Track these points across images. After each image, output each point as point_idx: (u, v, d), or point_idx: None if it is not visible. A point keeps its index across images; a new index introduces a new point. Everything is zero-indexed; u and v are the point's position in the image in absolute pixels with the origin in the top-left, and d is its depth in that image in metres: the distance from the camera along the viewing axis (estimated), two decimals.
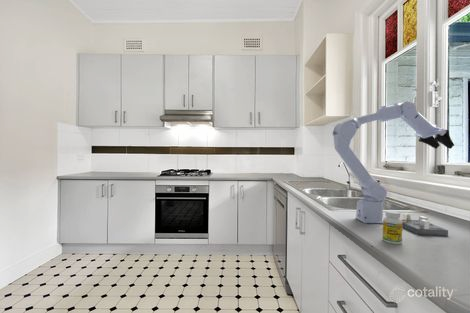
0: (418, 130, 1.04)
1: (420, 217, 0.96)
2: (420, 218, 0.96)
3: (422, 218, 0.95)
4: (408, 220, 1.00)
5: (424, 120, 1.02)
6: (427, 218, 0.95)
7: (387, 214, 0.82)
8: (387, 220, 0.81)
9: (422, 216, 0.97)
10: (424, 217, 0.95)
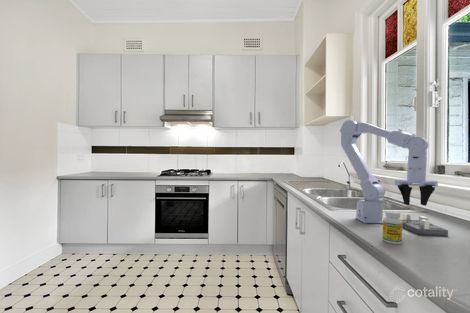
0: None
1: (420, 217, 0.96)
2: (420, 218, 0.96)
3: (422, 218, 0.95)
4: (408, 220, 1.00)
5: (418, 166, 0.93)
6: (427, 218, 0.95)
7: (387, 214, 0.82)
8: (387, 220, 0.81)
9: (422, 216, 0.97)
10: (424, 217, 0.95)
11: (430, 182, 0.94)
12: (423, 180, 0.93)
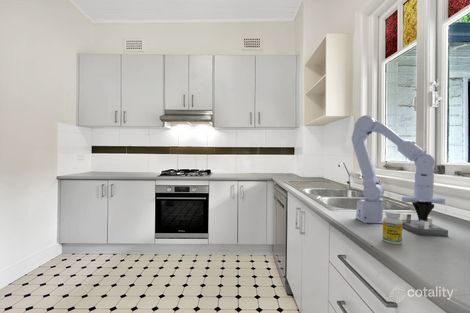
0: None
1: None
2: None
3: None
4: (408, 220, 1.00)
5: (426, 184, 0.93)
6: (431, 218, 0.95)
7: (387, 214, 0.82)
8: (387, 220, 0.81)
9: None
10: (428, 217, 0.95)
11: (437, 199, 0.94)
12: (430, 198, 0.93)
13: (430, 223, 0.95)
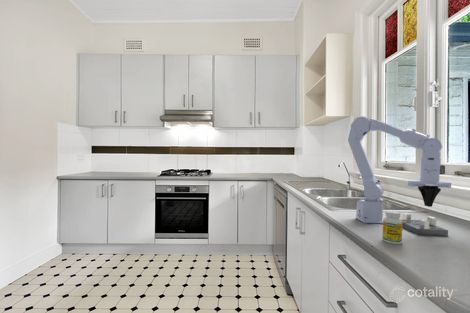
0: None
1: (428, 217, 0.96)
2: (428, 218, 0.96)
3: (430, 218, 0.95)
4: (408, 220, 1.00)
5: (433, 168, 0.93)
6: (435, 218, 0.95)
7: (387, 214, 0.82)
8: (387, 220, 0.81)
9: None
10: (432, 217, 0.95)
11: (444, 183, 0.94)
12: (437, 181, 0.93)
13: (434, 223, 0.95)
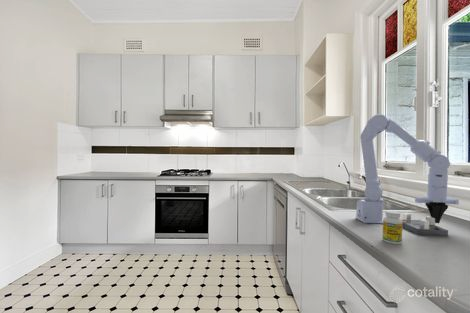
0: None
1: (427, 217, 0.96)
2: (427, 218, 0.96)
3: (429, 218, 0.95)
4: (408, 220, 1.00)
5: (442, 185, 0.93)
6: (434, 218, 0.95)
7: (387, 214, 0.82)
8: (387, 220, 0.81)
9: None
10: (431, 217, 0.95)
11: (451, 200, 0.94)
12: (444, 198, 0.93)
13: (433, 223, 0.95)
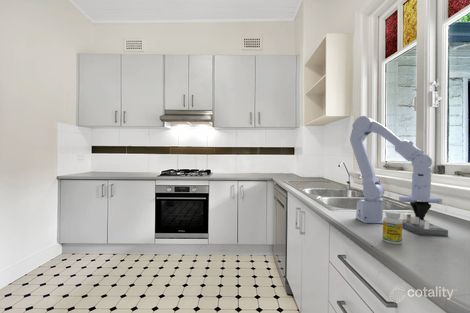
0: None
1: (411, 217, 0.97)
2: (411, 218, 0.97)
3: (413, 218, 0.96)
4: (408, 220, 1.00)
5: (423, 184, 0.93)
6: (418, 218, 0.95)
7: (387, 214, 0.82)
8: (387, 220, 0.81)
9: (414, 216, 0.97)
10: (415, 217, 0.96)
11: (435, 199, 0.94)
12: (428, 198, 0.93)
13: (417, 222, 0.95)
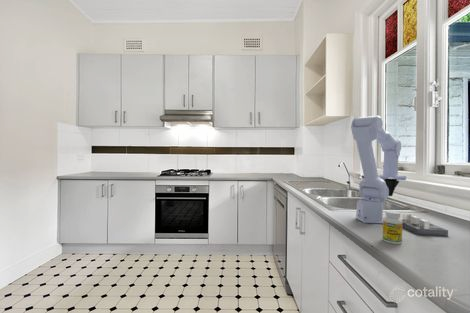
0: None
1: (412, 217, 0.97)
2: (412, 218, 0.97)
3: (414, 218, 0.96)
4: (408, 220, 1.00)
5: None
6: (419, 218, 0.95)
7: (387, 214, 0.82)
8: (387, 220, 0.81)
9: (414, 216, 0.97)
10: (416, 217, 0.96)
11: (401, 177, 1.15)
12: (396, 175, 1.13)
13: (417, 222, 0.95)
